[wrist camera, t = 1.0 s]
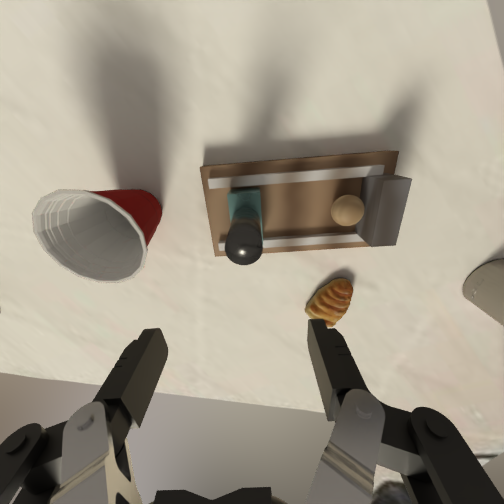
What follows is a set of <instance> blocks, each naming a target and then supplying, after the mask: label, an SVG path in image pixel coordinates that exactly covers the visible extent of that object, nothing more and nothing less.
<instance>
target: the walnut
mask: <svg viewBox="0 0 504 504" xmlns="http://www.w3.org/2000/svg"><path fill="white" fill-rule="evenodd" d="M364 210H365V207H364V204H363V202H362V200H361V199H360V198H358V197H357V196H354V195H344V196H341V197H339V198H338V199H337V200H336V201H335V202H334V203H333V205H332V208H331V215H332V218H333V220H334V221H335V222H336V223H338V224H340V225H342V226H351V225H354V224H356V223H357V222H359V221H360V220H361V218H362V217H363V215H364Z"/></svg>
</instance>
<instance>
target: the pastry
mask: <svg viewBox="0 0 504 504" xmlns="http://www.w3.org/2000/svg"><path fill="white" fill-rule="evenodd" d="M352 293H353V287H352V285H351V283H350V281H349V280H347V279H344V278H338V279H334V280H332V281H331V282H330V283H329V284H327V285H325V286H324V287H322V288H320V289H318V291H317V293H316V294H315V295H314V296H313V297H312V298H311V300H310V301H309V302H308V304H307V306H306V308H305V312H306V314H307V315H308V316H309V317H310V318H311V319H322V318H323V319H324V321H325V323H326V326H327V327H333V326H334V325H335V324H336V322H337V321H338V320H340V319H341V318H342V316H343V315H344V314H345V313H346V311H347V309H348V307H349V305H350V301H351V297H352Z"/></svg>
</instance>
